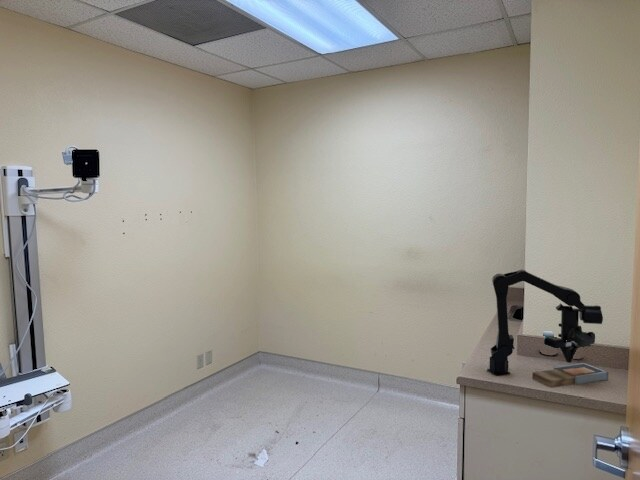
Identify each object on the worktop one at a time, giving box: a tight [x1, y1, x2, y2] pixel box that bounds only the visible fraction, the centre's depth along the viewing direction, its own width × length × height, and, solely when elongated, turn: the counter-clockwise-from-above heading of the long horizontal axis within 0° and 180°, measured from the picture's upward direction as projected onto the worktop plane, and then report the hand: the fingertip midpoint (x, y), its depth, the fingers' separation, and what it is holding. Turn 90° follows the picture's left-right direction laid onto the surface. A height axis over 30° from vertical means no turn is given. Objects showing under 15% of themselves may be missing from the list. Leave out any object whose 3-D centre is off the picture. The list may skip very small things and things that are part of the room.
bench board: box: [532, 368, 576, 388], centre depth 167 cm, size 11×9×2 cm
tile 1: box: [562, 368, 584, 377], centre depth 170 cm, size 5×5×2 cm
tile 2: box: [575, 367, 595, 375], centre depth 171 cm, size 5×5×2 cm
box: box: [553, 362, 609, 386], centre depth 171 cm, size 15×11×3 cm
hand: (568, 362), depth 169 cm, fingers closed
